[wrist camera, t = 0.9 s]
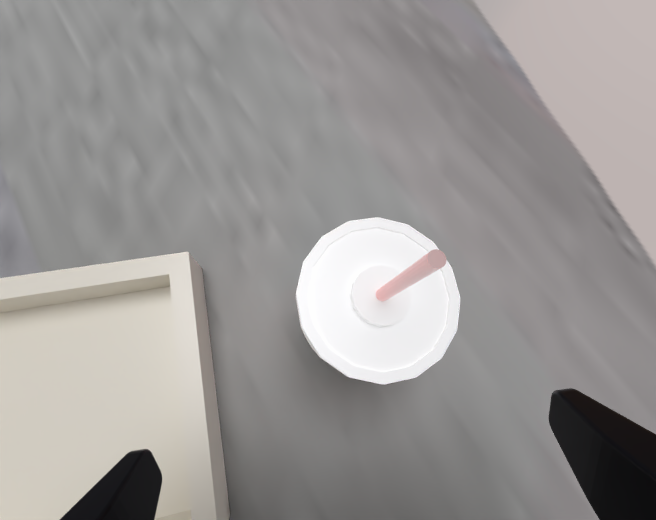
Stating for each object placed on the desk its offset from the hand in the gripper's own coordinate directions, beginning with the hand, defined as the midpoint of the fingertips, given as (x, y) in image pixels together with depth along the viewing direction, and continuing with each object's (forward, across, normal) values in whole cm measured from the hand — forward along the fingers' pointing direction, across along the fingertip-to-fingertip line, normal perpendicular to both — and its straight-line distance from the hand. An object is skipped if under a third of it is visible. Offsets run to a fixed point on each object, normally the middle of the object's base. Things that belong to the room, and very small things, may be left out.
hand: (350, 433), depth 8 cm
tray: (+9, +14, +6) cm, 17 cm away
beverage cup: (+13, 0, +6) cm, 14 cm away
